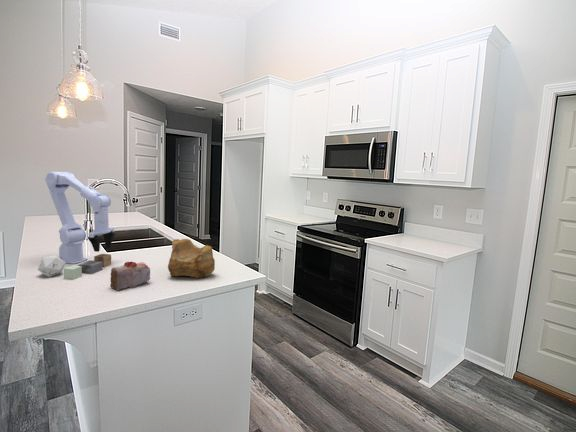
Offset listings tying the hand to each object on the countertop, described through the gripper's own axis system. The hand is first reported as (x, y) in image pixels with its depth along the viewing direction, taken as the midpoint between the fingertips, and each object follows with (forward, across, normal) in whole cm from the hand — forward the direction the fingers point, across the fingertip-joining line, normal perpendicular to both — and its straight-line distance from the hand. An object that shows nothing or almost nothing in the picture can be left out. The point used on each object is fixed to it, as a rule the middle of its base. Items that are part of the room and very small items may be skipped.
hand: (102, 249), depth 153 cm
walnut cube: (+8, 0, 0) cm, 8 cm away
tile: (+8, -5, +7) cm, 12 cm away
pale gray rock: (+8, -18, +10) cm, 22 cm away
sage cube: (+8, -18, 0) cm, 20 cm away
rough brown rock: (+8, -2, -43) cm, 44 cm away
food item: (+8, -20, -28) cm, 35 cm away
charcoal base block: (+8, -9, -1) cm, 12 cm away
